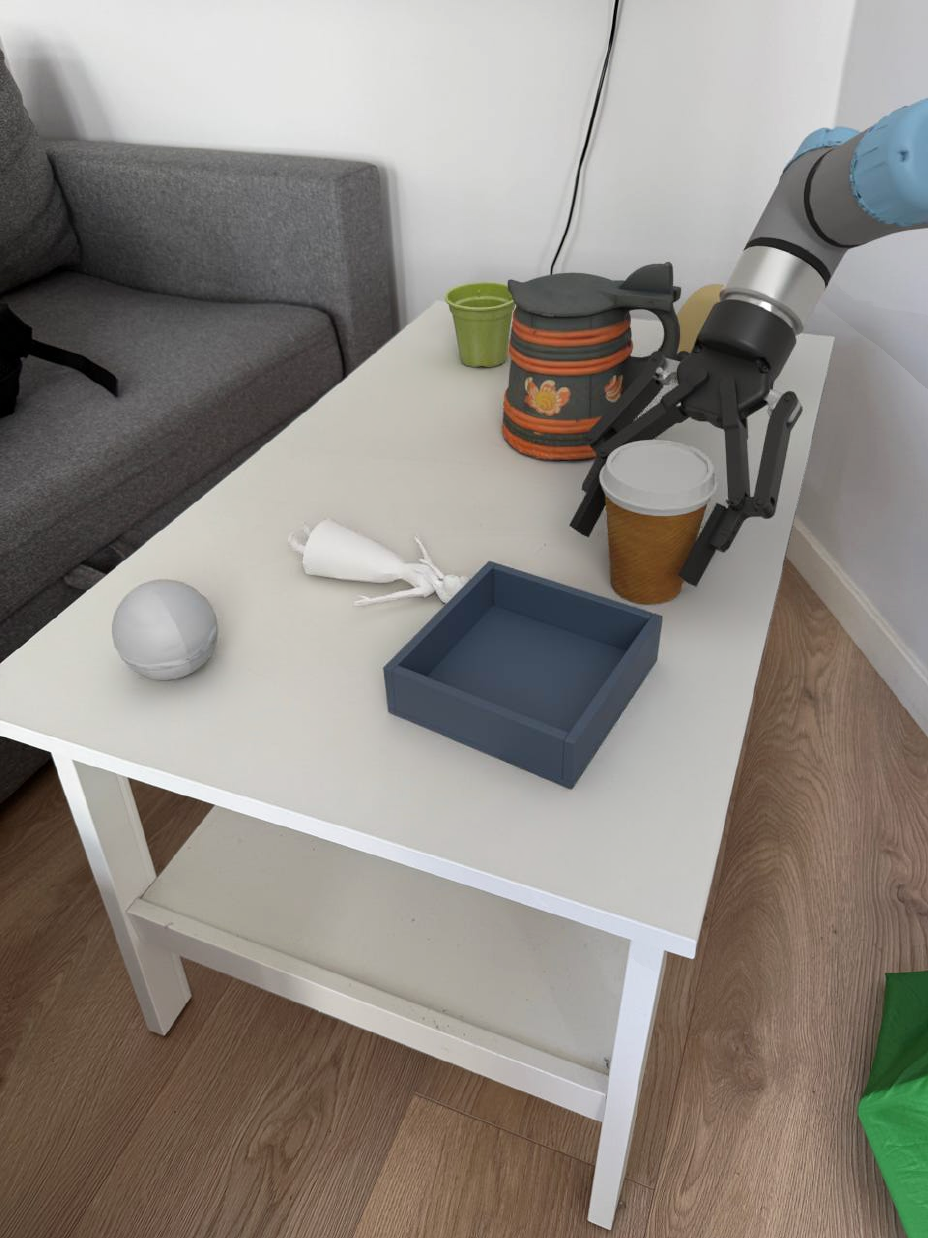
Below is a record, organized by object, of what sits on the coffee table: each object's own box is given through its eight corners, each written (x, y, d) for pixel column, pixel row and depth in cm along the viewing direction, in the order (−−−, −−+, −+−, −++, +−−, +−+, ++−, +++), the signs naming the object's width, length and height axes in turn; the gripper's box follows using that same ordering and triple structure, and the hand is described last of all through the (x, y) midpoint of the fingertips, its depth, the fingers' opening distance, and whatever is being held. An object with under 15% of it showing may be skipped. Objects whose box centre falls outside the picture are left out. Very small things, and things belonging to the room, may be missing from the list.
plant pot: (481, 380, 116) (479, 313, 111) (433, 360, 122) (429, 294, 116) (533, 359, 121) (534, 293, 116) (485, 340, 127) (483, 276, 121)
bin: (657, 660, 74) (663, 615, 71) (571, 790, 63) (574, 744, 61) (489, 603, 80) (489, 560, 77) (387, 712, 70) (382, 667, 67)
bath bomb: (244, 645, 77) (225, 567, 72) (194, 709, 71) (170, 630, 66) (161, 629, 79) (138, 552, 74) (107, 690, 73) (77, 612, 68)
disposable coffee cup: (702, 620, 77) (723, 498, 70) (589, 612, 79) (597, 491, 71) (698, 556, 85) (716, 439, 77) (594, 549, 86) (602, 434, 79)
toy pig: (690, 380, 122) (636, 331, 118) (760, 310, 117) (705, 256, 113) (711, 411, 114) (653, 359, 110) (786, 337, 109) (729, 280, 105)
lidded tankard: (678, 416, 107) (701, 238, 94) (656, 477, 96) (678, 286, 83) (522, 397, 112) (523, 226, 99) (485, 453, 101) (481, 270, 89)
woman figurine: (328, 487, 88) (500, 537, 82) (331, 525, 91) (497, 577, 85) (257, 551, 80) (442, 612, 74) (263, 591, 82) (442, 652, 77)
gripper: (898, 375, 73) (764, 621, 74) (656, 310, 86) (545, 520, 87) (886, 330, 67) (739, 599, 68) (627, 267, 79) (508, 494, 81)
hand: (630, 555), depth 77 cm, fingers open, 10 cm apart
